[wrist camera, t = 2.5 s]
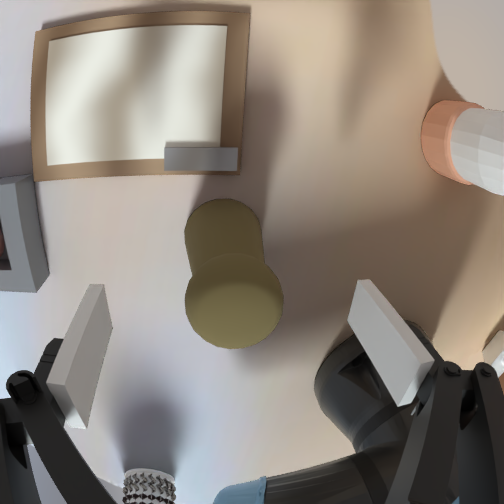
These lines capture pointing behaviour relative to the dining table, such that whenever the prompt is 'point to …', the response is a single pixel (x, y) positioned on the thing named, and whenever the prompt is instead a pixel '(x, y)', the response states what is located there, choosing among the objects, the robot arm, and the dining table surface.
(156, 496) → the decorative candle
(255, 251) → the pepper shaker
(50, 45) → the clipboard
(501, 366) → the figurine
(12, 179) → the button housing
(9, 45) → the dining table surface
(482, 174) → the pepper shaker
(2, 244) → the button
